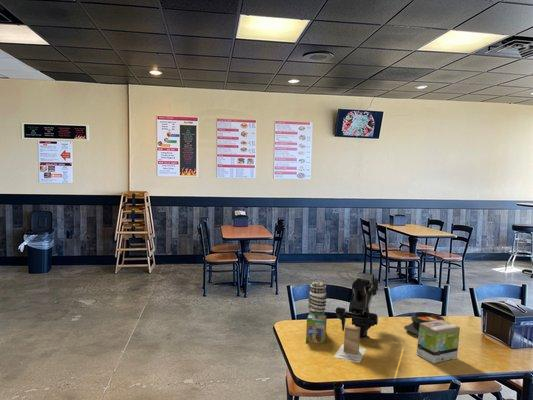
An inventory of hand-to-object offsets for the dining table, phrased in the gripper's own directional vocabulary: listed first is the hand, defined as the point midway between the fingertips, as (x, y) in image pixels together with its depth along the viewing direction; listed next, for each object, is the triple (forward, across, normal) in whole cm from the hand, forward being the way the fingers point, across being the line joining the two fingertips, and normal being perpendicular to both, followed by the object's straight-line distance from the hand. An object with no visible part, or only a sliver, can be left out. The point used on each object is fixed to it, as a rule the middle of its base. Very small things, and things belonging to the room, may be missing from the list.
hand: (353, 332), depth 179 cm
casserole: (-26, +30, +38) cm, 55 cm away
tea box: (-4, +35, +17) cm, 39 cm away
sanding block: (+7, 0, +5) cm, 8 cm away
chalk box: (+4, -18, +10) cm, 21 cm away
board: (+8, 0, +4) cm, 9 cm away
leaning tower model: (-4, -22, +17) cm, 28 cm away
